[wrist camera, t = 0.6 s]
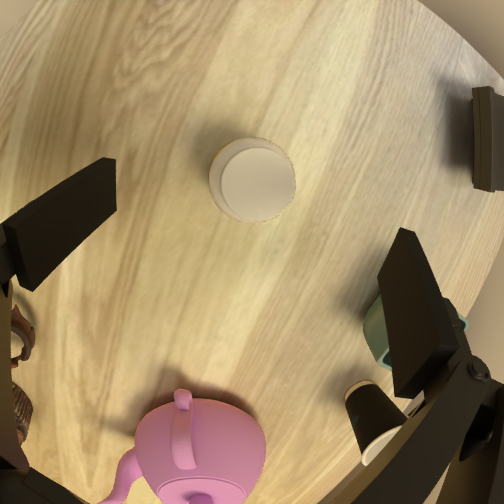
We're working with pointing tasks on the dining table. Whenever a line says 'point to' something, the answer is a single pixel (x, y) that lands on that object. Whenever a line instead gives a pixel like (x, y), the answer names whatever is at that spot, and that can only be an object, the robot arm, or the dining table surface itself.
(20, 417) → the cupcake
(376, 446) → the dixie cup
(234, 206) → the pill bottle
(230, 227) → the dining table surface
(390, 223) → the dining table surface
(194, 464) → the teapot
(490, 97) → the toy chair
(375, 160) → the dining table surface
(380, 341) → the flower pot
